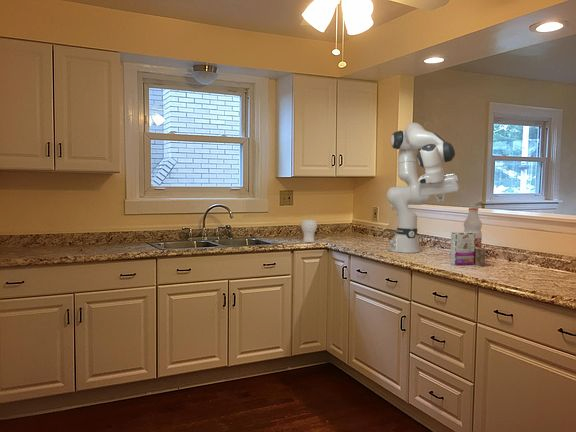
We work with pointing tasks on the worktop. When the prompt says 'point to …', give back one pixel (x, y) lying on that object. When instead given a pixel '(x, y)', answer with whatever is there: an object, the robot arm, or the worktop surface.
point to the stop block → (480, 256)
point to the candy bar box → (463, 248)
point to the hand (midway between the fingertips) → (441, 201)
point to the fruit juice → (474, 225)
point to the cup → (308, 230)
